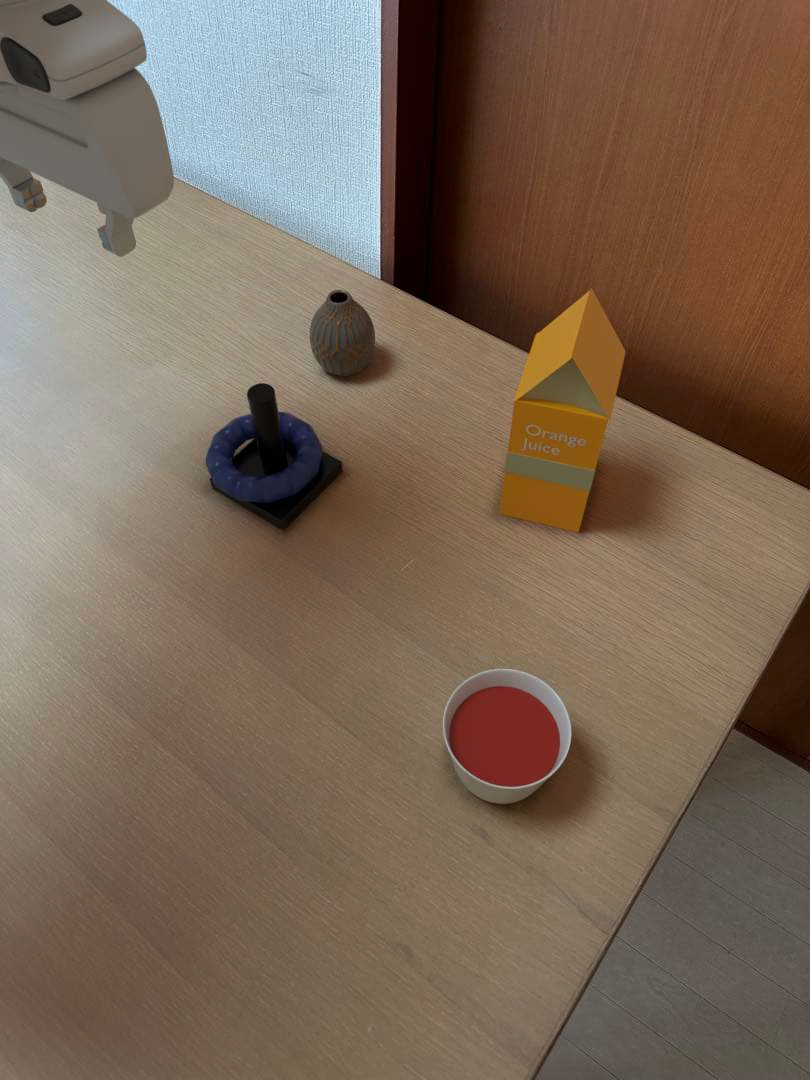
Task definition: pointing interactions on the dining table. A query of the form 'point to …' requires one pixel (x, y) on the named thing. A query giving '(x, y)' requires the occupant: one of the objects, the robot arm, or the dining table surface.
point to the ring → (261, 486)
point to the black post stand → (276, 461)
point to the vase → (342, 335)
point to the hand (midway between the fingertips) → (75, 227)
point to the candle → (505, 734)
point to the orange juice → (562, 416)
